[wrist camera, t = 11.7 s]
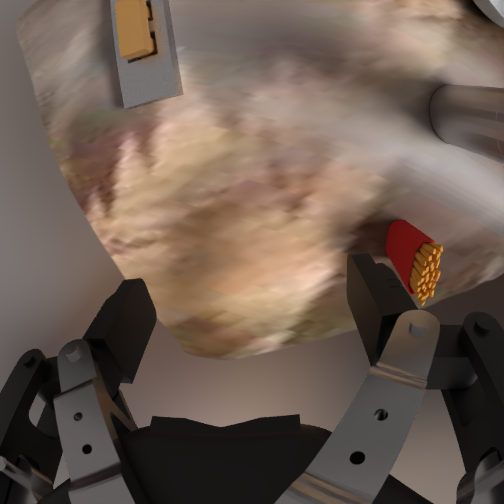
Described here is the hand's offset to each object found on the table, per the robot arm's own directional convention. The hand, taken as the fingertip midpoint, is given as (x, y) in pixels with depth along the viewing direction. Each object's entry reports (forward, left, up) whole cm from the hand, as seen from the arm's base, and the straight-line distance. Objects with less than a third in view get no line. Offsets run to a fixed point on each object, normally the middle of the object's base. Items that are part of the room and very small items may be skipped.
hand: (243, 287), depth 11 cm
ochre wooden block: (+11, -20, -28) cm, 36 cm away
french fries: (-20, +14, -28) cm, 37 cm away
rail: (+11, -20, -28) cm, 36 cm away
